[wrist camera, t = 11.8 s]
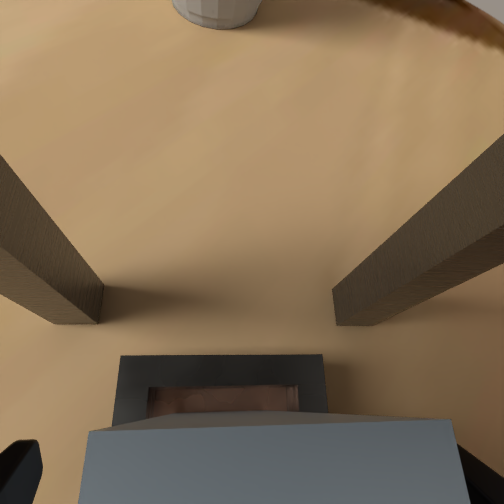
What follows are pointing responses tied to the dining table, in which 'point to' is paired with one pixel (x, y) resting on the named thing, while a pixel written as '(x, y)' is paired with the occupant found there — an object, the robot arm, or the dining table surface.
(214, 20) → the coffee cup
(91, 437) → the blue-grey rectangular block
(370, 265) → the overhang seat
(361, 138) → the dining table surface
